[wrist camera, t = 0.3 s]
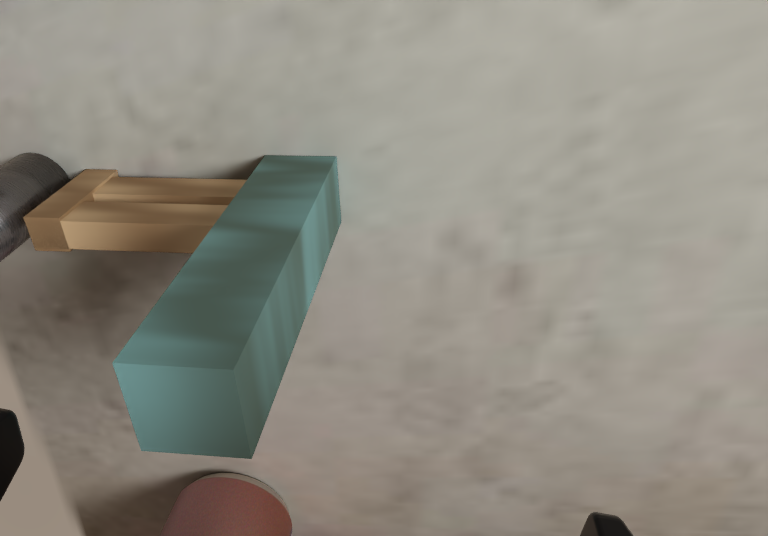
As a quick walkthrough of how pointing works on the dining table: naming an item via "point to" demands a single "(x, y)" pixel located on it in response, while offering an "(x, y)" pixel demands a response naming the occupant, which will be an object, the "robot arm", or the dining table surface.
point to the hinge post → (24, 195)
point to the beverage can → (228, 509)
